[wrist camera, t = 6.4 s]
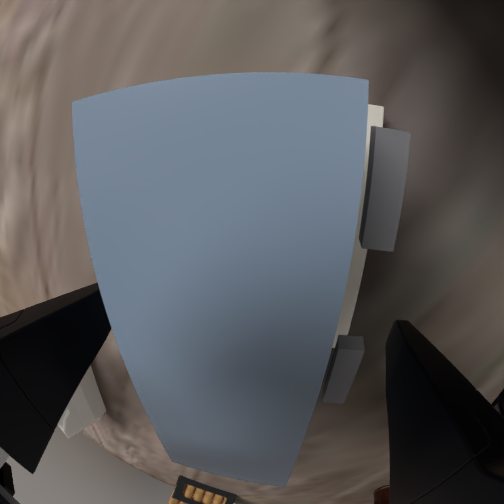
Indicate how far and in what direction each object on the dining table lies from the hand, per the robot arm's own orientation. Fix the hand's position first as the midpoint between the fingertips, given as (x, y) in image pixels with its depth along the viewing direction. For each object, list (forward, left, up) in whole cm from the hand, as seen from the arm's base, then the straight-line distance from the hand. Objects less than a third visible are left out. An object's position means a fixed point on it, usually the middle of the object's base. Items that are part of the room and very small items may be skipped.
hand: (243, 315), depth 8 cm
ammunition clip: (-49, +9, -8) cm, 50 cm away
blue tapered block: (0, 0, -2) cm, 2 cm away
